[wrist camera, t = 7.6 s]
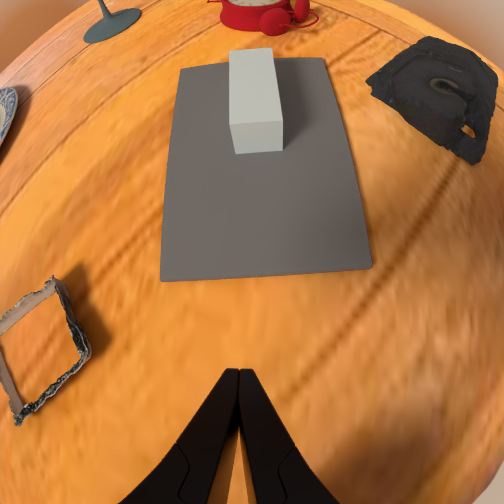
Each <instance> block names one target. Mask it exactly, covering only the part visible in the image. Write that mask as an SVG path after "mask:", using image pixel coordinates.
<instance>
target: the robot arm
mask: <svg viewBox="0 0 504 504" xmlns="http://www.w3.org/2000/svg"><path fill="white" fill-rule="evenodd" d="M238 433H240V443H241V450H242V458H243V466H244V473H245V480H246V488H247V495H248V501H249V504H340V503H339V502H338V501H337V500H336V498H335V497H334V496H333V495H332V494H331V493H330V492H329V490H328V489H327V488H326V487H325V486H324V485H323V484H322V482H321V481H320V480H319V479H318V478H317V476H316V475H315V474H314V472H313V471H312V470H311V469H310V467H309V466H308V464H307V463H306V461H305V460H304V458H303V457H302V455H301V453H300V452H299V450H298V448H297V447H296V446H295V443H294V442H293V440H292V438H291V437H290V435H289V433H288V431H287V430H286V428H285V426H284V424H283V423H282V421H281V419H280V417H279V416H278V414H277V412H276V410H275V408H274V407H273V405H272V403H271V401H270V399H269V398H268V396H267V394H266V392H265V390H264V388H263V387H262V385H261V383H260V381H259V379H258V377H257V376H256V374H255V372H254V370H253V369H240V371H239V369H237V368H227V369H226V370H225V371H224V372H223V374H222V375H221V377H220V378H219V380H218V381H217V383H216V384H215V386H214V387H213V389H212V390H211V392H210V393H209V395H208V396H207V398H206V399H205V400H204V402H203V403H202V405H201V406H200V408H199V409H198V411H197V412H196V414H195V415H194V416H193V418H192V419H191V421H190V422H189V424H188V425H187V426H186V428H185V429H184V431H183V432H182V434H181V435H180V436H179V438H178V439H177V441H176V443H174V445H173V446H172V447H171V449H170V450H169V452H168V453H167V454H166V455H165V457H164V458H163V459H162V460H161V462H160V463H159V464H158V465H157V466H156V467H155V468H154V470H153V471H152V472H151V473H150V474H149V475H148V476H147V477H146V478H145V479H144V480H143V481H142V482H141V483H140V484H139V485H138V486H137V487H136V488H135V489H134V490H133V491H132V492H131V493H129V494H128V495H127V496H126V497H125V498H124V499H123V500H122V501H121V502H119V503H118V504H227V499H228V493H229V487H230V482H231V476H232V470H233V464H234V458H235V452H236V446H237V440H238Z"/></svg>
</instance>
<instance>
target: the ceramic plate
mask: <svg viewBox="0 0 504 504" xmlns="http://www.w3.org/2000/svg"><path fill="white" fill-rule="evenodd" d="M17 104H18V94H17V91H16V90H15V89H14V88H12V87H6V88H3V89H0V146H1V144H2V142H3V140H4V138H5V136H6V134H7V132H8V130H9V128H10V125H11V123H12V120H13V118H14V115H15V112H16V109H17Z"/></svg>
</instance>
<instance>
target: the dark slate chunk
mask: <svg viewBox="0 0 504 504" xmlns="http://www.w3.org/2000/svg"><path fill="white" fill-rule="evenodd" d="M366 83H367V84H368V85H369V86H372V89H373V90H372V93H371V95H372V96H373V97H375V98H377V99H379V100H381V101H382V102H384V103H385V104H387V105H388V106H390V107H392V108H393V109H395V110H396V111H397V112H399V114H400V115H401V116H402V117H403V118H404V119H405V121H407V122H408V123H409V124H410V125H412V126H413V127H415V128H416V129H417V130H418V131H420V132H422V133H423V134H424V135H426V136H427V137H428V138H430V139H431V140H432V141H434V142H435V143H436V144H438V145H439V146H444V147H445V148H446V149H447V150H450V149H451V151H452V152H453V153H455V154H456V155H457V156H459V155H461V156H462V157H463V158H464V159H465V160H466V161H468V162H469V163H470V164H471V165H474V164H476V163H479V162H480V161H481V157H482V155H483V154H484V153H485V149H486V143H487V140H488V134H489V128H490V121H491V117H492V116H493V112H494V110H495V99H496V89H497V87H498V77H497V74H496V73H495V72H494V71H493V70H492V69H491V68H490V67H489V66H488V65H487V64H486V63H485V62H483V61H482V60H481V58H480V57H478V56H477V55H476V54H475V53H474V52H472V51H471V50H469V49H466V48H464V47H461V46H459V45H456V44H451V43H447V42H446V41H444V40H441V39H439V38H434V37H431V36H427V37H424V38H422V39H420V40H418V42H417V43H416V44H413V45H412V46H410V47H409V48H407V49H405V50H403V51H402V52H401V53H399V54H398V55H396V56H395V57H394V58H393V59H392V60H391V61H389V62H388V63H387V64H385V65H384V66H383V67H382V68H380V69H379V70H378V71H377V72H375V73H374V74H372V75H371V76H370V77H369V78H368V79H367V80H366ZM464 124H466V125H467V126H469V127H470V128H471V129H473V131H474V133H475V138H472V137H470V136H468V135H467V134H466V133H464V132H463V131H462V130H461V127H464Z"/></svg>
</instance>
